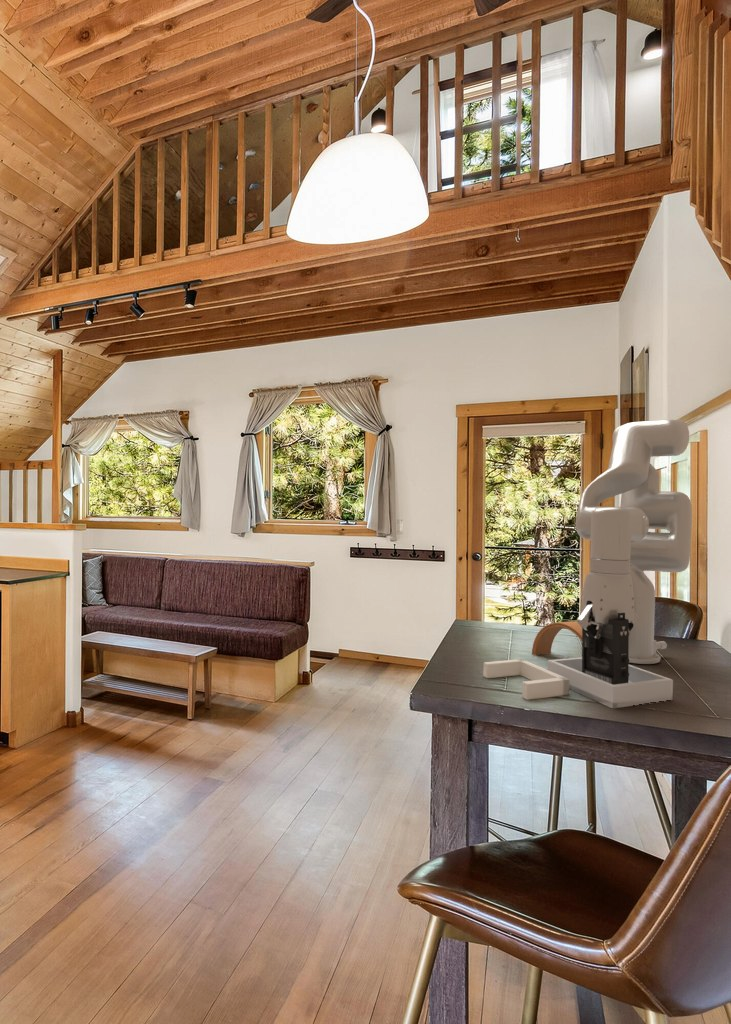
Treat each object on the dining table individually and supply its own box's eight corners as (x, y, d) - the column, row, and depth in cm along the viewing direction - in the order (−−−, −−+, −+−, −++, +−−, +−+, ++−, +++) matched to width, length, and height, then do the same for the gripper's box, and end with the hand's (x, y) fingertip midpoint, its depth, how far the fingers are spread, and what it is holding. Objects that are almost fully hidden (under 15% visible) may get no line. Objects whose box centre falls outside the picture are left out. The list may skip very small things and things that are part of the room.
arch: (595, 676, 118) (595, 630, 118) (531, 656, 136) (531, 617, 136) (614, 673, 120) (613, 628, 120) (549, 654, 138) (548, 615, 139)
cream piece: (521, 672, 120) (522, 658, 120) (569, 694, 106) (569, 679, 106) (483, 676, 116) (483, 662, 116) (526, 699, 102) (527, 684, 102)
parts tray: (601, 672, 121) (602, 655, 121) (672, 700, 104) (673, 679, 104) (547, 678, 116) (547, 660, 116) (612, 708, 99) (613, 686, 99)
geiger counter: (637, 689, 106) (637, 613, 106) (621, 692, 104) (621, 614, 104) (594, 675, 115) (594, 605, 116) (578, 677, 114) (579, 606, 114)
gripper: (627, 565, 116) (624, 648, 116) (563, 566, 110) (560, 654, 110) (656, 569, 109) (654, 657, 109) (590, 570, 103) (587, 664, 103)
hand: (607, 655), depth 110 cm, fingers open, 5 cm apart
